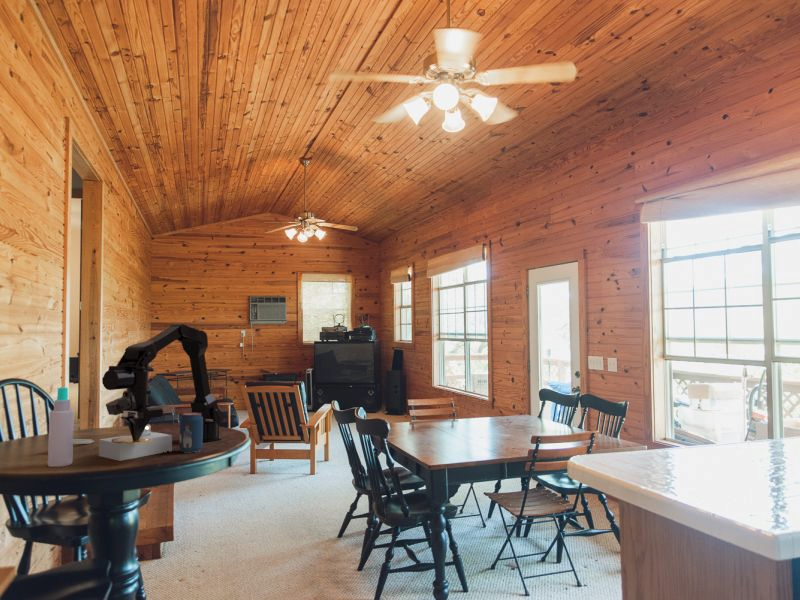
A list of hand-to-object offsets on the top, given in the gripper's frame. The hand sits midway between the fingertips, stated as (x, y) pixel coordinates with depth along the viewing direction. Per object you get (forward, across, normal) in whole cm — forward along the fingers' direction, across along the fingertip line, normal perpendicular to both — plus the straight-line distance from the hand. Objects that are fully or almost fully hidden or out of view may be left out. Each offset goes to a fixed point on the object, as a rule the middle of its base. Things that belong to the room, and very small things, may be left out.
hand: (135, 440), depth 164 cm
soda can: (+6, +2, +17) cm, 19 cm away
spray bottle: (+6, -12, -15) cm, 21 cm away
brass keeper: (+1, -2, 0) cm, 2 cm away
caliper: (+6, -36, -1) cm, 36 cm away
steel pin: (+6, -11, +9) cm, 15 cm away
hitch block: (+6, -9, +6) cm, 12 cm away
